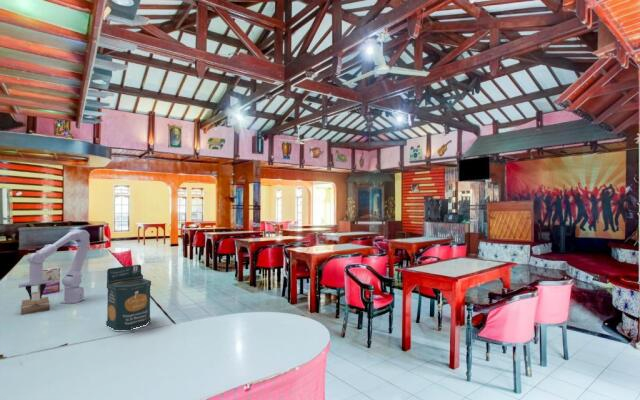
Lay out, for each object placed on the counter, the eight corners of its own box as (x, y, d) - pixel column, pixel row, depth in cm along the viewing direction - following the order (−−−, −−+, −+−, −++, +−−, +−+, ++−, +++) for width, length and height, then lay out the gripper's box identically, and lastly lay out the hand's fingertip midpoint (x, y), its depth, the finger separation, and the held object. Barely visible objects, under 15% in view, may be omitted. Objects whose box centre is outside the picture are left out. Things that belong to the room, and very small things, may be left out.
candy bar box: (57, 290, 232) (57, 267, 232) (59, 291, 229) (60, 267, 229) (36, 294, 223) (37, 269, 223) (39, 295, 220) (39, 270, 220)
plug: (39, 303, 189) (39, 293, 189) (31, 304, 187) (31, 294, 187) (39, 302, 192) (39, 291, 193) (31, 303, 190) (31, 292, 190)
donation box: (140, 317, 177) (141, 264, 177) (154, 324, 167) (155, 267, 167) (106, 325, 164) (106, 268, 165) (119, 333, 154) (119, 272, 155)
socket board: (49, 310, 189) (49, 305, 189) (21, 314, 181) (21, 310, 181) (48, 300, 207) (48, 296, 207) (22, 304, 199) (22, 300, 199)
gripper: (52, 271, 197) (51, 294, 197) (19, 275, 188) (18, 299, 188) (52, 273, 192) (52, 297, 192) (18, 277, 183) (18, 302, 182)
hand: (35, 298), depth 189 cm, fingers closed on plug, 4 cm apart
